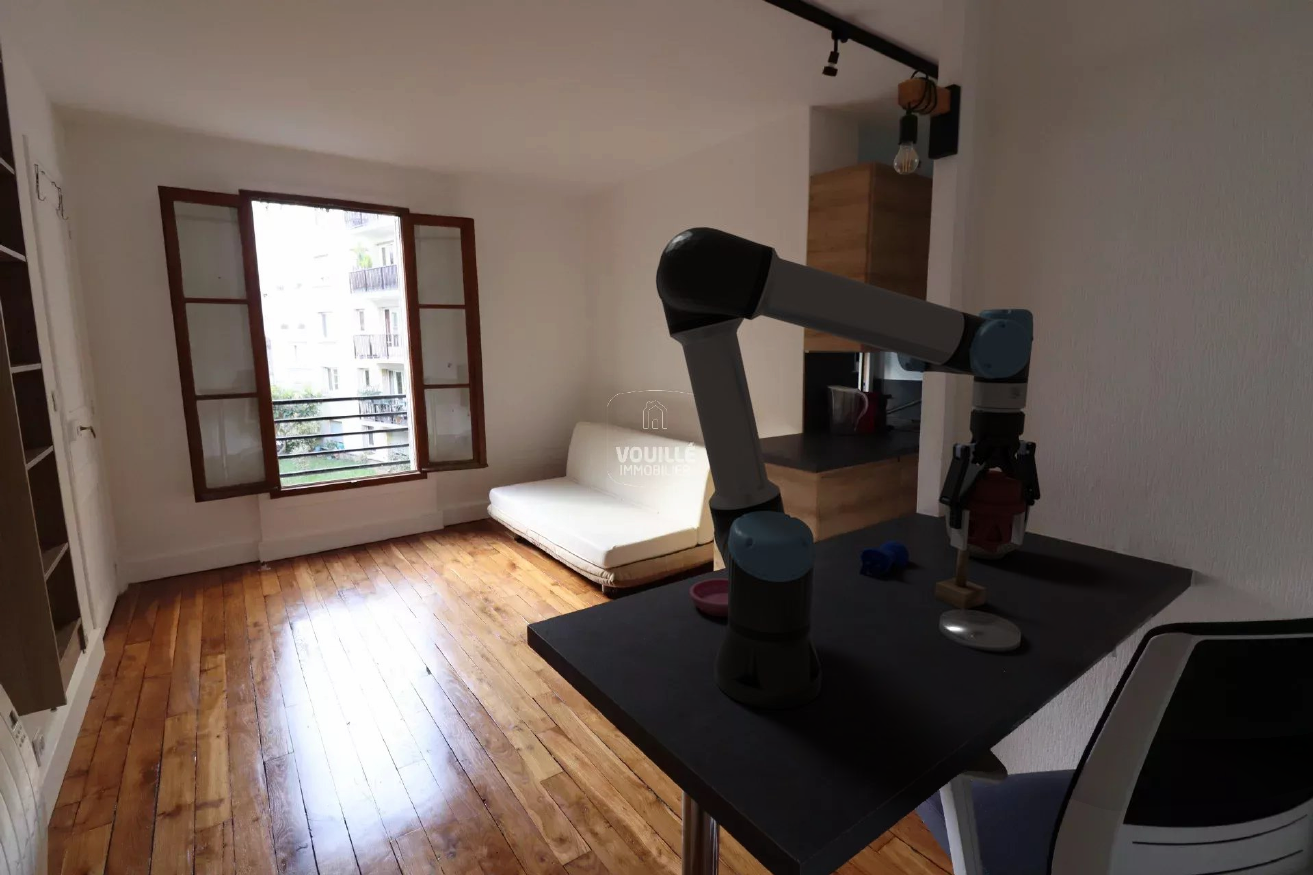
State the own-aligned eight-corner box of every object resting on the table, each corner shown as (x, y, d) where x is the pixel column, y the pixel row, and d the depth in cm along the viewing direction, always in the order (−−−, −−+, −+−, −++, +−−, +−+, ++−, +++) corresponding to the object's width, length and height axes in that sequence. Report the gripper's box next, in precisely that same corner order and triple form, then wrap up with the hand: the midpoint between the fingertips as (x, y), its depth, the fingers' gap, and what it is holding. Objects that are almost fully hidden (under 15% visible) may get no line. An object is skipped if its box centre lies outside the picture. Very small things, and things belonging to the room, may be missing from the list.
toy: (885, 584, 125) (914, 562, 135) (887, 555, 123) (916, 535, 134) (854, 575, 129) (884, 555, 140) (855, 547, 128) (885, 529, 139)
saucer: (680, 597, 117) (680, 581, 116) (739, 589, 121) (739, 574, 120) (705, 625, 105) (705, 608, 105) (769, 615, 109) (770, 599, 109)
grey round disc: (973, 655, 95) (974, 646, 95) (923, 621, 107) (924, 613, 106) (1038, 646, 98) (1039, 638, 98) (982, 614, 109) (983, 606, 109)
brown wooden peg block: (963, 609, 111) (968, 552, 109) (934, 597, 116) (939, 542, 115) (984, 603, 114) (989, 546, 112) (955, 591, 119) (960, 537, 117)
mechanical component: (1007, 538, 104) (1031, 558, 94) (944, 534, 106) (962, 554, 96) (1014, 467, 102) (1039, 480, 92) (950, 465, 104) (968, 478, 94)
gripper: (953, 414, 90) (942, 558, 94) (1077, 409, 95) (1062, 546, 99) (920, 408, 97) (911, 543, 101) (1036, 404, 103) (1024, 532, 106)
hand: (986, 544), depth 100 cm, fingers closed on mechanical component, 10 cm apart
